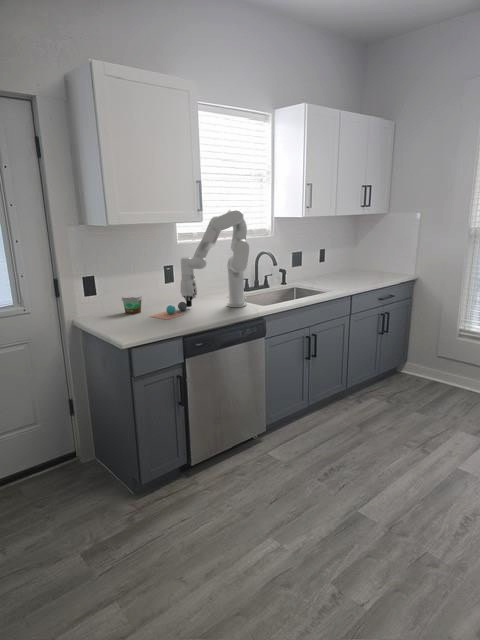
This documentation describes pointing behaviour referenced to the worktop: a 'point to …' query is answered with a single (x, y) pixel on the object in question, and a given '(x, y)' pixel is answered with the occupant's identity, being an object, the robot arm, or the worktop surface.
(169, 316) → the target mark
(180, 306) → the grey ball
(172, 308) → the object ball
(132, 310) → the food container
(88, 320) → the worktop surface
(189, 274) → the robot arm
